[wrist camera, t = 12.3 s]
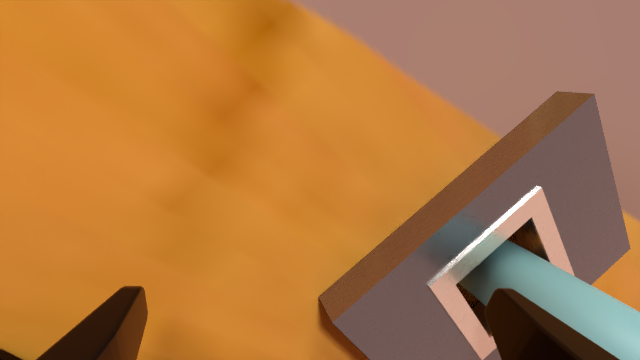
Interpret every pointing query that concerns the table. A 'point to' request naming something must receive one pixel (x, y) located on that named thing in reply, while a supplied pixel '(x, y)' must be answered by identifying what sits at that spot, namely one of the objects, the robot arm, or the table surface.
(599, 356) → the robot arm
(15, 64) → the table surface
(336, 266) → the table surface
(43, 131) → the table surface
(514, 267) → the teal peg
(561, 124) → the flange plate
